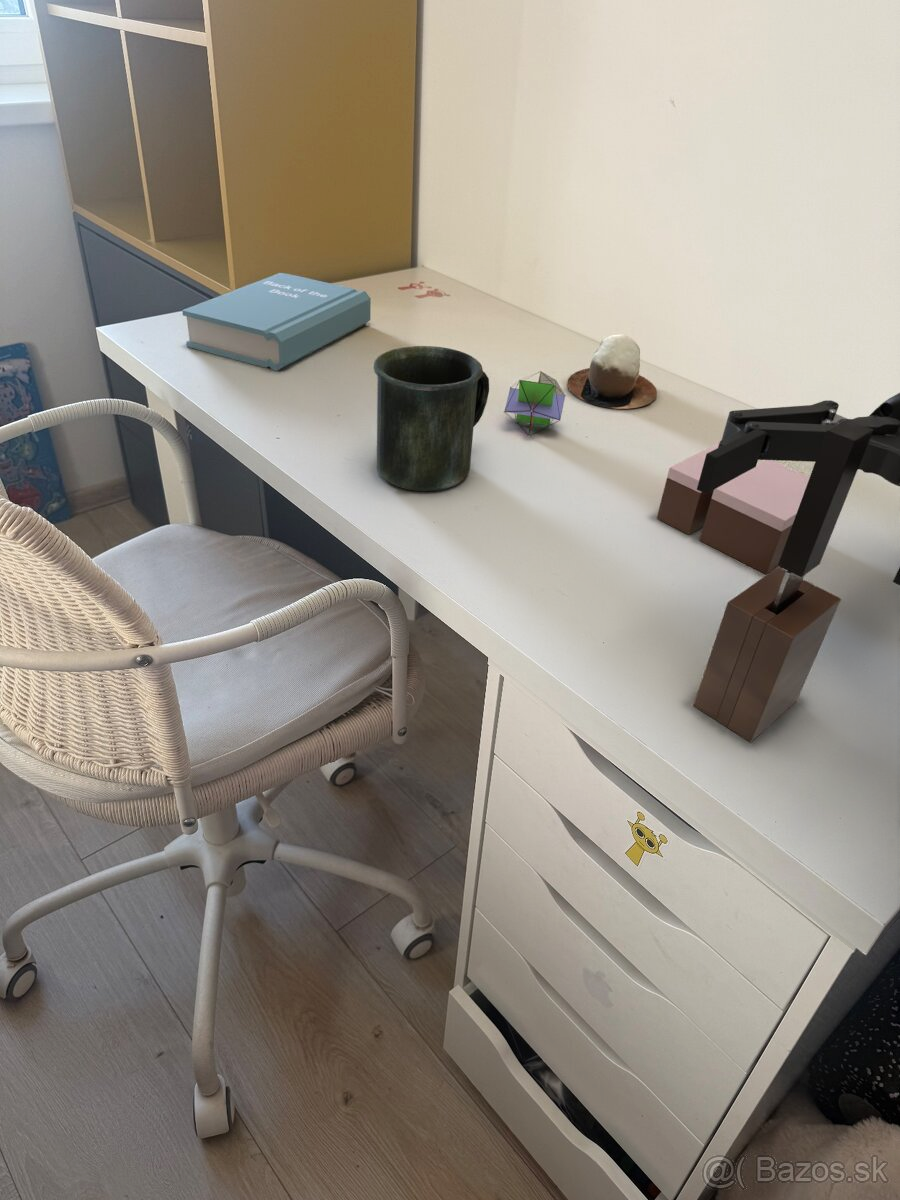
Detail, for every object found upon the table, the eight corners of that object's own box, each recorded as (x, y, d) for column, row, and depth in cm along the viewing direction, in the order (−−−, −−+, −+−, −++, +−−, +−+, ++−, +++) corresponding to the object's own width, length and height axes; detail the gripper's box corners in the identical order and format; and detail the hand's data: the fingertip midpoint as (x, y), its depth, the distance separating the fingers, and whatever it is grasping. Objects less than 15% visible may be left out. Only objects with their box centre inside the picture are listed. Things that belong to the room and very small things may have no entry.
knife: (765, 700, 64) (875, 428, 51) (745, 718, 63) (853, 441, 49) (745, 688, 65) (847, 418, 52) (725, 705, 64) (825, 430, 50)
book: (282, 304, 132) (281, 272, 129) (370, 325, 126) (370, 292, 123) (186, 346, 115) (182, 310, 112) (283, 372, 110) (280, 335, 107)
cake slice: (740, 504, 89) (757, 454, 86) (688, 535, 83) (703, 482, 80) (709, 489, 91) (723, 440, 88) (656, 518, 86) (669, 466, 82)
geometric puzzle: (557, 434, 95) (570, 365, 95) (499, 425, 96) (511, 357, 96) (557, 447, 102) (568, 383, 102) (502, 438, 103) (513, 375, 103)
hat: (569, 358, 117) (628, 312, 112) (613, 414, 120) (673, 372, 114) (552, 386, 108) (616, 336, 102) (601, 446, 110) (665, 401, 105)
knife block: (797, 700, 65) (841, 598, 59) (750, 742, 61) (793, 638, 55) (740, 667, 67) (778, 566, 61) (692, 705, 63) (727, 602, 57)
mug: (351, 467, 90) (350, 360, 83) (446, 431, 99) (452, 331, 92) (419, 507, 84) (425, 396, 77) (514, 465, 93) (526, 361, 86)
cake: (816, 539, 84) (836, 487, 81) (766, 574, 79) (785, 520, 75) (750, 509, 88) (767, 458, 85) (699, 540, 83) (714, 487, 79)
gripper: (1088, 540, 59) (980, 665, 47) (773, 417, 73) (627, 489, 61) (1148, 445, 54) (1046, 555, 42) (800, 333, 68) (648, 392, 56)
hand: (799, 516), depth 51 cm, fingers open, 13 cm apart
